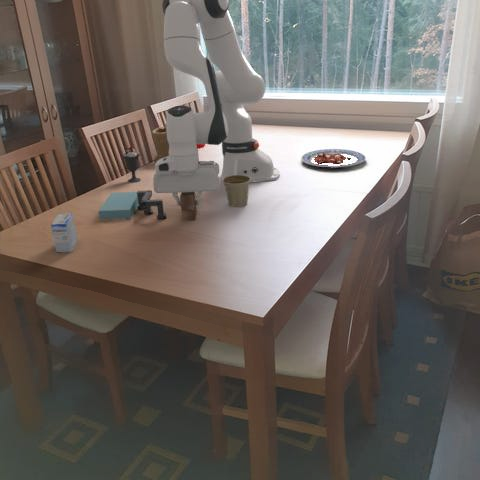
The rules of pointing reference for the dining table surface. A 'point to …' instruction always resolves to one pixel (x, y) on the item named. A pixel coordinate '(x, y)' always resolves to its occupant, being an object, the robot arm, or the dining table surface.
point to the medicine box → (64, 232)
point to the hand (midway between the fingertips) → (188, 204)
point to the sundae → (131, 162)
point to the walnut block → (188, 206)
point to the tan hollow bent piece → (160, 142)
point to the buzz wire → (150, 204)
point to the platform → (119, 206)
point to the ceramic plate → (332, 157)
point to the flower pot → (237, 189)
